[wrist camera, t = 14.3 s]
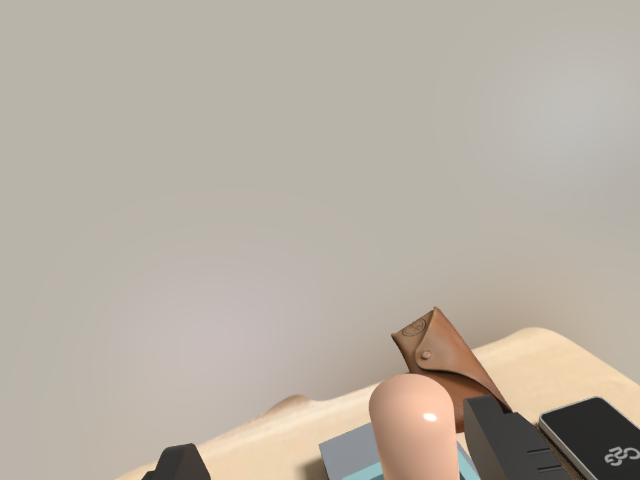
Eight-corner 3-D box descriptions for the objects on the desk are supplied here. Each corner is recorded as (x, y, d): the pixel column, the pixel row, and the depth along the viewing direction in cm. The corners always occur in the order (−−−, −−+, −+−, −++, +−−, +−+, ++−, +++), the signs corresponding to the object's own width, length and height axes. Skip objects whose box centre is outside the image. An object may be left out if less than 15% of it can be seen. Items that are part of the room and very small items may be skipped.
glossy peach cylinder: (417, 583, 23) (392, 459, 18) (384, 508, 28) (356, 391, 23) (480, 549, 24) (472, 421, 19) (438, 481, 29) (423, 363, 24)
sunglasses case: (386, 332, 52) (404, 295, 49) (427, 342, 53) (447, 306, 51) (435, 443, 35) (466, 394, 33) (492, 453, 37) (526, 407, 34)
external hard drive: (597, 408, 35) (599, 394, 35) (735, 531, 25) (743, 514, 24) (535, 429, 35) (536, 414, 34) (652, 562, 25) (657, 546, 24)
